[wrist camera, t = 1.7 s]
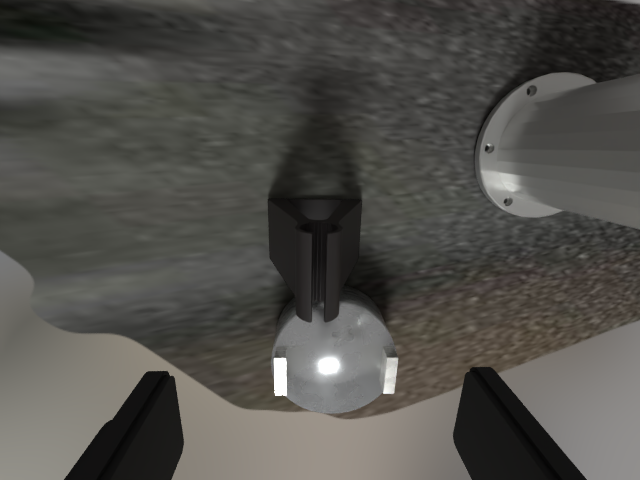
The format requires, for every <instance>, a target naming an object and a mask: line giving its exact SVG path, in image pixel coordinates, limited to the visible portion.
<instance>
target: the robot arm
mask: <svg viewBox="0 0 640 480" xmlns="http://www.w3.org/2000/svg"><path fill="white" fill-rule="evenodd" d="M485 147H486V150H485ZM475 171H476V177H477V180H478V182H479V185H480V188H481V190H482V191H483V193H484V194H485V196H486V197H487V198H488V199H489V200H490V201H491V202H492V203H493V204H494V205H495V206H497V207H498V208H500V209H502V210H503V211H505V212H508V213H511V214H514V215H517V216H522V217H537V218H538V217H544V216H550V215H553V214H556V213H558V212H561V211H563V210H565V211H569V212H573V213H577V214H581V215H585V216H589V217H593V218H597V219H601V220H604V221H608V222H612V223H616V224H620V225H624V226H628V227H632V228H636V229H640V74H637V75H633V76H628V77H623V78H619V79H614V80H609V81H605V82H600V83H597V82H595V81H594V80H593V79H591V78H588V77H586V76H584V75H581V74H577V73H570V72H560V73H551V74H547V75H543V76H540V77H537V78H534V79H532V80H529V81H526V82H524V83H523V84H521V85H519V86H518V87H516V88H515V89H513V90H512V91H510V92H509V93H508V94H507V95H506V96H505V97H504V98H502V99H501V100H500V101H499V103H498V104H497V105H496V106H495V107H494V109H493V110H492V111H491V112H490V114H489V116H488V117H487V119H486V121H485V122H484V124H483V127H482V129H481V132H480V134H479V137H478V140H477V145H476V149H475ZM453 439H454V443H455V446H456V448H457V451H458V453H459V455H460V457H461V459H462V461H463V463H464V465H465V467H466V469H467V471H468V473H469V475H470V477H471V479H472V480H587V479H586V478H585V477H584V476H583V475H582V473H581V472H580V471H579V470H578V469H577V467H576V466H575V465H574V464H573V463H572V462H571V461H570V459H569V458H568V457H567V456H566V454H565V453H564V452H563V451H562V450H561V449H560V447H559V446H558V445H557V444H556V443H555V441H554V440H553V439H552V438H551V437H550V435H549V434H548V433H547V432H546V431H545V430H544V428H543V427H542V426H541V425H540V424H539V422H538V421H537V420H536V419H535V418H534V417H533V415H532V414H531V413H530V412H529V411H528V410H527V408H526V407H525V406H524V405H523V403H522V402H521V401H520V400H519V399H518V398H517V396H516V395H515V394H514V393H513V392H512V390H511V389H510V388H509V387H508V386H507V385H506V383H505V382H504V381H503V380H502V379H501V377H500V376H499V375H498V374H497V373H496V371H495V370H494V369H493V368H491V367H472V368H471V369H470V372H467V373H466V374H465V378H464V383H463V388H462V393H461V398H460V403H459V408H458V413H457V418H456V423H455V427H454V432H453ZM183 445H184V439H183V432H182V425H181V419H180V412H179V404H178V398H177V391H176V384H175V378H174V376H170V375H169V373H168V371H148V372H146V373H145V374H144V376H143V377H142V378H141V380H140V381H139V383H138V384H137V386H136V387H135V389H134V390H133V391H132V393H131V394H130V395H129V397H128V398H127V400H126V401H125V402H124V404H123V405H122V407H121V408H120V410H119V411H118V412H117V414H116V415H115V417H114V418H113V420H110V421H108V422H107V423H106V424H105V425H104V426H103V427H102V428H101V429H100V431H99V432H98V434H97V435H96V436H95V438H94V439H93V440H92V442H91V443H90V445H89V446H88V447H87V449H86V450H85V451H84V453H83V454H82V456H81V457H80V458H79V460H78V461H77V463H76V464H75V465H74V467H73V468H72V469H71V471H70V472H69V474H68V475H67V476H66V478H65V479H64V480H171V479H172V476H173V474H174V471H175V469H176V467H177V464H178V462H179V459H180V457H181V454H182V451H183Z"/></svg>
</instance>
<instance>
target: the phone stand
mask: <svg viewBox="0 0 640 480" xmlns="http://www.w3.org/2000/svg"><path fill="white" fill-rule="evenodd" d="M361 209H362V200H354V199H268V221H269V251H270V259H271V261H272V262H273V264H274V265H275V267H276V268H277V270H278V271H279V273H280V274H281V276H282V277H283V279H284V280H285V282H286V283H287V285H288V286H289V288H290V289H291V291H292V292H293V294H294V295H295V302H296V315H297V316H298V317H299V318H300V319H301V320H303V321H306V322H309V323H311V322H312V302H315V301H316V300H317V301H319V302H323V301H324V322H325V323H327V322H330V321H332V320H334V319H335V318H337V316H338V315H339V303H340V291H341V289H342V288H343V286H344V284H345V282H346V280H347V278H348V277H349V275H350V273H351V271H352V269H353V268H354V266H355V264H356V262H357V260H358V258H359V242H360V225H361Z"/></svg>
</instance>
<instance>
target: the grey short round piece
mask: <svg viewBox="0 0 640 480" xmlns="http://www.w3.org/2000/svg"><path fill="white" fill-rule="evenodd" d="M397 364H398V356H397V354H396V348H395V345H394V342H393V340H392V337H391V335H390V333H389V331H388V328H387V326H386V324H385V321H384V319H383V317H382V314H381V312H380V310H379V308H378V307H377V305H376V304H375V303H374V302H373V300H372V299H371V298H369V297H368V296H367V295H366V294H364V293H363V292H361V291H359V290H357V289H355V288H352V287H349V286H345V285H344V286H343V288H342V289H341V291H340V303H339V315H338V316H337V318H335V319H334V320H332V321H330V322H327V323H325V322H324V301H323V302H319V301H317V300H316V301H315V302H312V322H311V323H309V322H306V321H303V320H301V319H300V318H299V317H298V316H297V315H296V302H295V297H294V298H293V299H292V300H291V301H290V302H289V303H288V304H287V305H286V307H285V308H284V309H283V311H282V313H281V315H280V317H279V320H278V324H277V329H276V335H275V341H274V347H273V353H272V360H271V367H272V373H273V377H274V380H275V395H285V396H286V397H287V398H288V399H289V400H291V401H292V402H294V403H295V404H297V405H299V406H301V407H303V408H305V409H308V410H311V411H315V412H320V413H342V412H348V411H352V410H355V409H358V408H360V407H363V406H365V405H366V404H368V403H370V402H371V401H373V400H374V399H376V398H377V397H378V396H379V395H380V394H381V393H382V392H383V394H394V389H395V381H396V373H397Z"/></svg>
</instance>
